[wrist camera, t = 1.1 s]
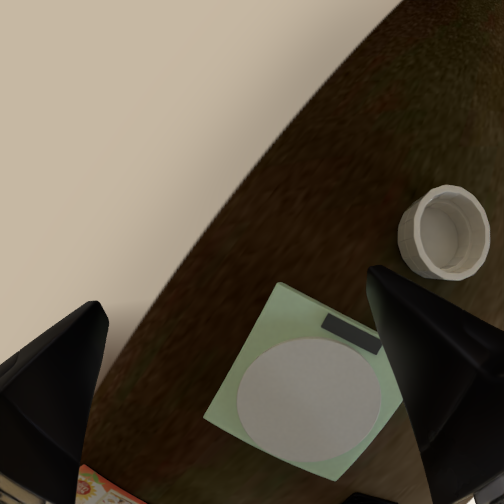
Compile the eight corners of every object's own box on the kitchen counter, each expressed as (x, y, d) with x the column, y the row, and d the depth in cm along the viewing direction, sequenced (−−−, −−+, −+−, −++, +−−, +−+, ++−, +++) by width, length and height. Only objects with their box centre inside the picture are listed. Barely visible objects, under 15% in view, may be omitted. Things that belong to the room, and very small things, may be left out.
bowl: (471, 223, 21) (499, 213, 16) (445, 291, 21) (471, 295, 16) (412, 187, 22) (431, 168, 17) (383, 256, 22) (399, 253, 18)
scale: (421, 354, 21) (431, 363, 18) (335, 470, 22) (335, 487, 19) (280, 281, 24) (275, 283, 22) (210, 408, 25) (199, 421, 22)
